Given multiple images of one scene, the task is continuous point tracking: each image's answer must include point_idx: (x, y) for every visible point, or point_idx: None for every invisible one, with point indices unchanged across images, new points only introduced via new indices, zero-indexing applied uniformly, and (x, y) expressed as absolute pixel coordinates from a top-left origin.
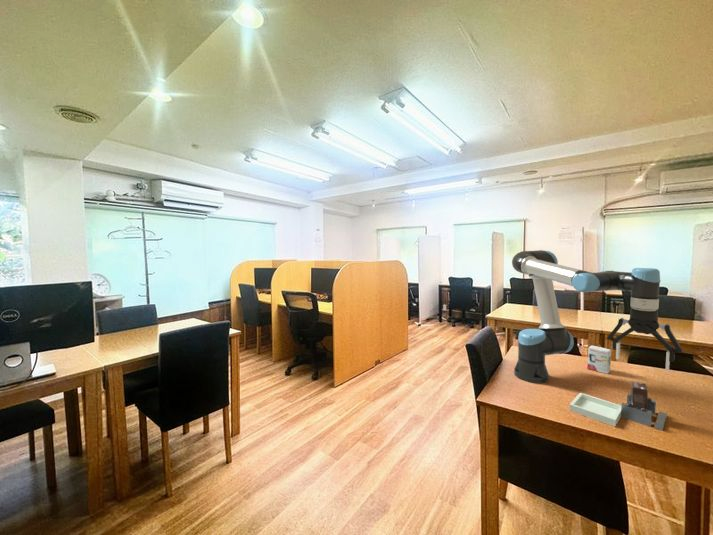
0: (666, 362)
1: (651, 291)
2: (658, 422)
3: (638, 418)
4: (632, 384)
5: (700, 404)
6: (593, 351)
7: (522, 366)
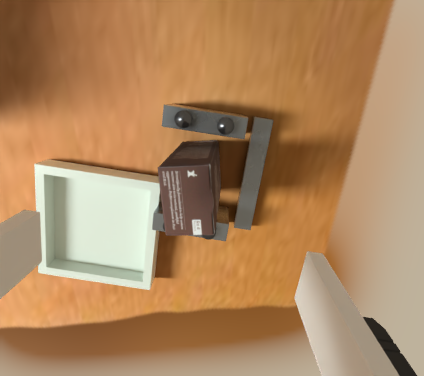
0: (313, 342)
1: None
2: (244, 205)
3: None
4: (163, 205)
5: None
6: None
7: None
